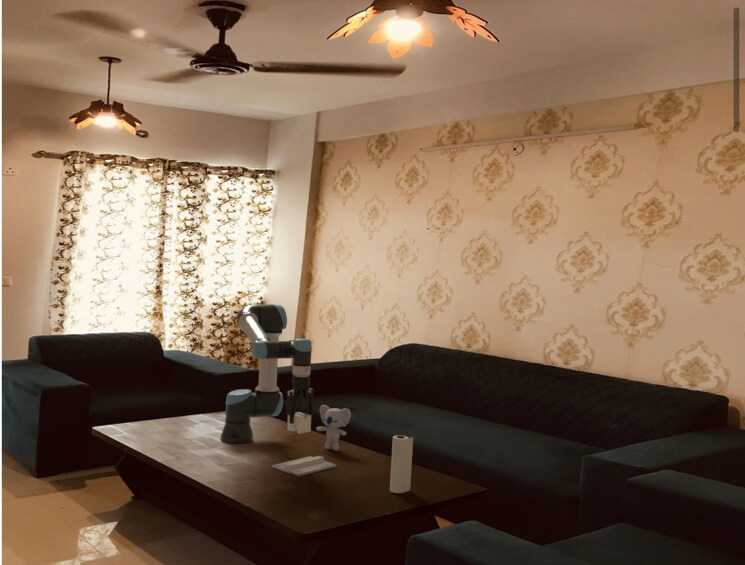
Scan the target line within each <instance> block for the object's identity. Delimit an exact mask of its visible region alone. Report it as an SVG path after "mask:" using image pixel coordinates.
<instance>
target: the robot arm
mask: <svg viewBox="0 0 745 565" xmlns="http://www.w3.org/2000/svg"><path fill="white" fill-rule="evenodd" d="M287 315H288V314H287V312H286V309H285V307H284V306H282V305H280V304H258V303H257V304H254V303H252V304H248V305H245V306H244V307H242V308H241V309H240V310H239V311H238V313H237V316H236V324H237V327H238V329H239V330H241V332H244V333H245V335H246V337H247V338H248V340H249V341H250V343H251V355H252V357H253V359H259V368H258V369H259V370H258V385H257V386H256V387H255V389H254V392H252V390H251V389H248V388H246V389H243V388H242V389H235V390H231V391H230V392H228V393H227V395H226V401H225V418H224V419H225V420H224V422H225V423H224V426H223V429H222V432H221V434H220V440H221V441H222V442H223V443H228V444H237V445H238V444H240V445H241V444H247V443H248V444H249V443H251V442H252V441H254V434H253V431H252V426H251V418H266V417H268V418H271V417H276V416H279V415H280V413H281V412H282V408H283V405H284V396H283V393H282V392H281V391H280V388H279V387H278V385H277V382H278V380H277V379H278V364H279V363H278V362H279V361H278V360H279V359H284V360H285V359H292V371H291V372H292V379H291V384H292V389H290V390H286V396H287V398H286V405H285V406H286V408H285V415H287V416H288V415H289V416H290V418H289V423H290V431H289V432H294V433H295V432H296V433H297V430H296V416H295V412H297V408H298V404H299V402H300V400H301V403H302V408H303V413H305V414H309V415H311V414H312V413H313V412H314V392H315V389H314V388H311V387H310V385H311V377H310V375H311V366H312V364H311V363H312V350H313V347H312V345H313V344H312V340H311V339H309V338H302V337H301V338H295V339H290V340H280V336H281V335H282V334H283V330H284V329H286V328H287V325H288V317H287Z"/></svg>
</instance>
